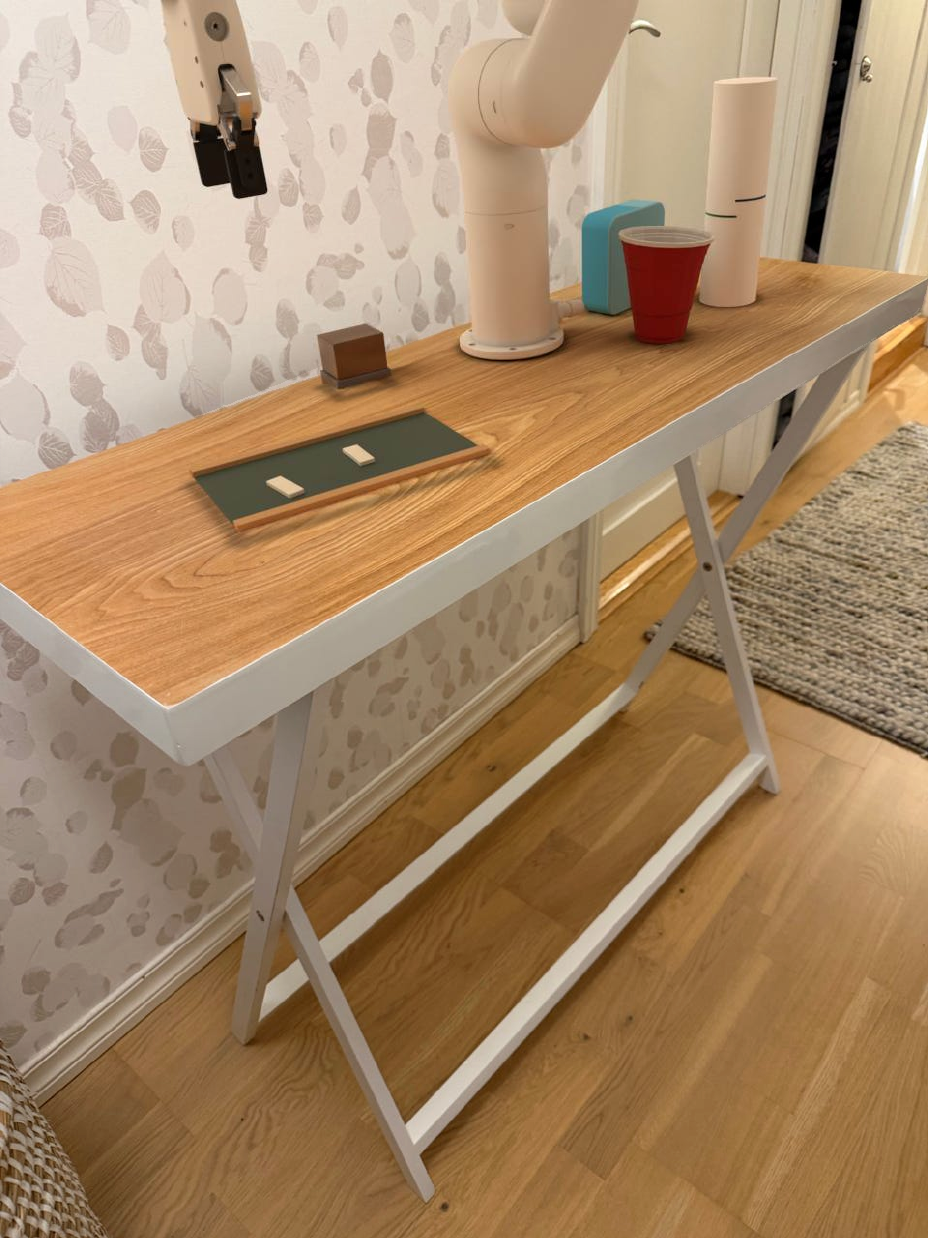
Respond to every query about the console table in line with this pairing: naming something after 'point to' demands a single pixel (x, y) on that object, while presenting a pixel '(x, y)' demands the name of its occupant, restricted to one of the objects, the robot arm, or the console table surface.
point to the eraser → (352, 356)
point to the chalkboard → (332, 465)
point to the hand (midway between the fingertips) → (234, 189)
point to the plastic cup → (663, 278)
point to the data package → (611, 253)
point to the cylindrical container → (737, 188)
